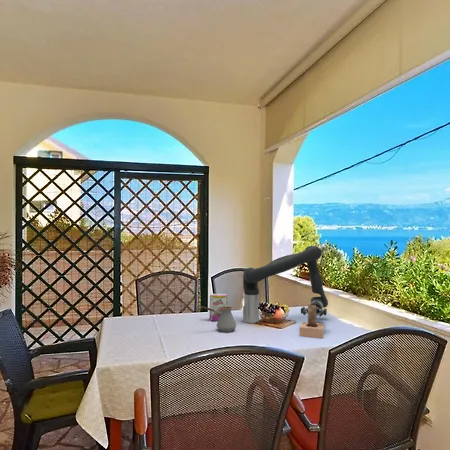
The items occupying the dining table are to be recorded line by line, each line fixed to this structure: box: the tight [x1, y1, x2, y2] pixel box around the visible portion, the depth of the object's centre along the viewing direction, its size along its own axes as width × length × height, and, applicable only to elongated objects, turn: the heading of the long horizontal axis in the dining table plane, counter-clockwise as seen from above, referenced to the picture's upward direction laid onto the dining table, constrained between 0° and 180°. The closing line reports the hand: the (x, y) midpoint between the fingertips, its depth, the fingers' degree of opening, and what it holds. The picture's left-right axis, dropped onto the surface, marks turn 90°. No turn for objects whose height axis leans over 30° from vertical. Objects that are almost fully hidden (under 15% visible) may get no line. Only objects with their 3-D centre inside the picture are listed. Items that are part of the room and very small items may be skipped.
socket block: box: [298, 321, 325, 339], centre depth 207 cm, size 12×12×5 cm
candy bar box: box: [209, 293, 229, 322], centre depth 236 cm, size 11×5×16 cm, turn 84°
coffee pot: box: [199, 305, 237, 333], centre depth 214 cm, size 21×12×15 cm, turn 109°
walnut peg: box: [307, 304, 317, 327], centre depth 207 cm, size 4×4×15 cm
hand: (312, 314), depth 208 cm, fingers open, 8 cm apart
